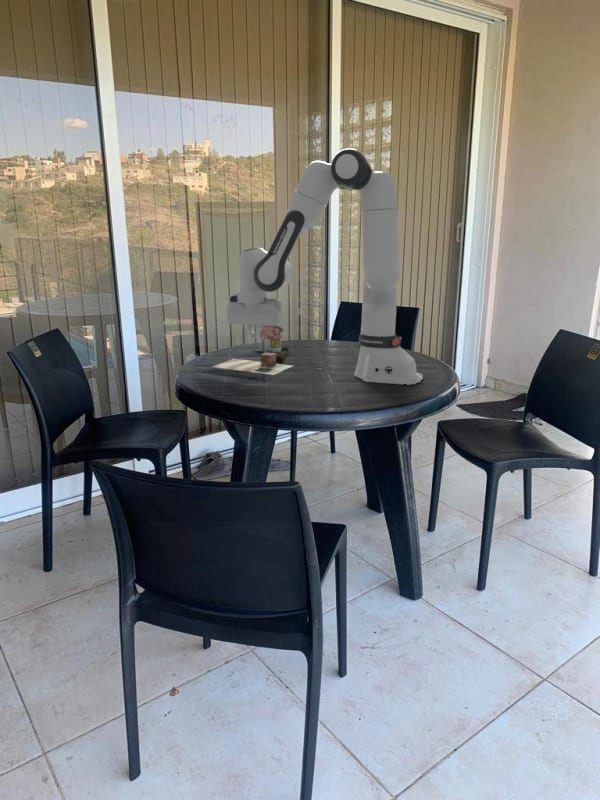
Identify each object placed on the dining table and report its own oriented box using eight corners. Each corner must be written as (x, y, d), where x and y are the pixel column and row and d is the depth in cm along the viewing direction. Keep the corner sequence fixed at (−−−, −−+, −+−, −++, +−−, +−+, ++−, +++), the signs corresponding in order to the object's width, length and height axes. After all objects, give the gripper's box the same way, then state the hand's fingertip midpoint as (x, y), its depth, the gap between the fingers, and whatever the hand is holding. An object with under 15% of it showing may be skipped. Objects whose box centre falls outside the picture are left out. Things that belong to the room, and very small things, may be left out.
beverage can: (273, 348, 235) (273, 319, 232) (287, 352, 229) (287, 322, 226) (255, 351, 229) (255, 321, 226) (269, 355, 223) (269, 324, 220)
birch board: (293, 369, 200) (293, 365, 199) (273, 379, 187) (273, 374, 186) (233, 362, 209) (233, 358, 209) (211, 371, 196) (211, 366, 196)
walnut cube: (276, 364, 200) (276, 353, 199) (270, 367, 197) (270, 355, 196) (266, 363, 202) (266, 352, 201) (260, 365, 198) (260, 354, 197)
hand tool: (282, 367, 204) (282, 354, 203) (271, 366, 205) (271, 354, 203) (294, 357, 222) (294, 345, 220) (284, 356, 223) (284, 344, 221)
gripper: (285, 297, 194) (286, 337, 198) (232, 295, 202) (234, 334, 206) (276, 299, 188) (277, 340, 192) (223, 297, 197) (225, 337, 201)
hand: (255, 337), depth 199 cm, fingers closed
